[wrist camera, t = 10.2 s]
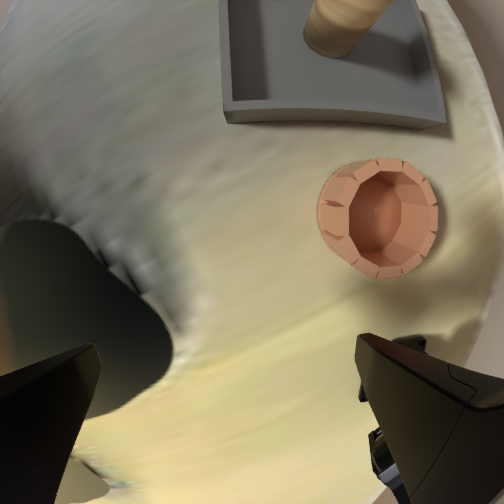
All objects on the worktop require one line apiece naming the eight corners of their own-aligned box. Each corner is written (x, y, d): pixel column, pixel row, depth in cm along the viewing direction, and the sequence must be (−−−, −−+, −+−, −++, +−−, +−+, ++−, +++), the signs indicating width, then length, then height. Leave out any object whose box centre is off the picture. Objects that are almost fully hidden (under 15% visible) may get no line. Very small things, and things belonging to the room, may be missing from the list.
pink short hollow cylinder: (405, 258, 22) (435, 274, 17) (317, 265, 22) (334, 285, 17) (406, 163, 20) (437, 160, 16) (314, 161, 20) (331, 154, 16)
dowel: (356, 61, 17) (420, -4, 7) (306, 56, 17) (345, -24, 7) (348, 21, 16) (397, -50, 7) (300, 16, 16) (328, -67, 7)
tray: (422, 129, 19) (446, 123, 16) (227, 123, 19) (223, 111, 16) (393, -1, 16) (408, -18, 13) (221, -16, 16) (218, -39, 13)
